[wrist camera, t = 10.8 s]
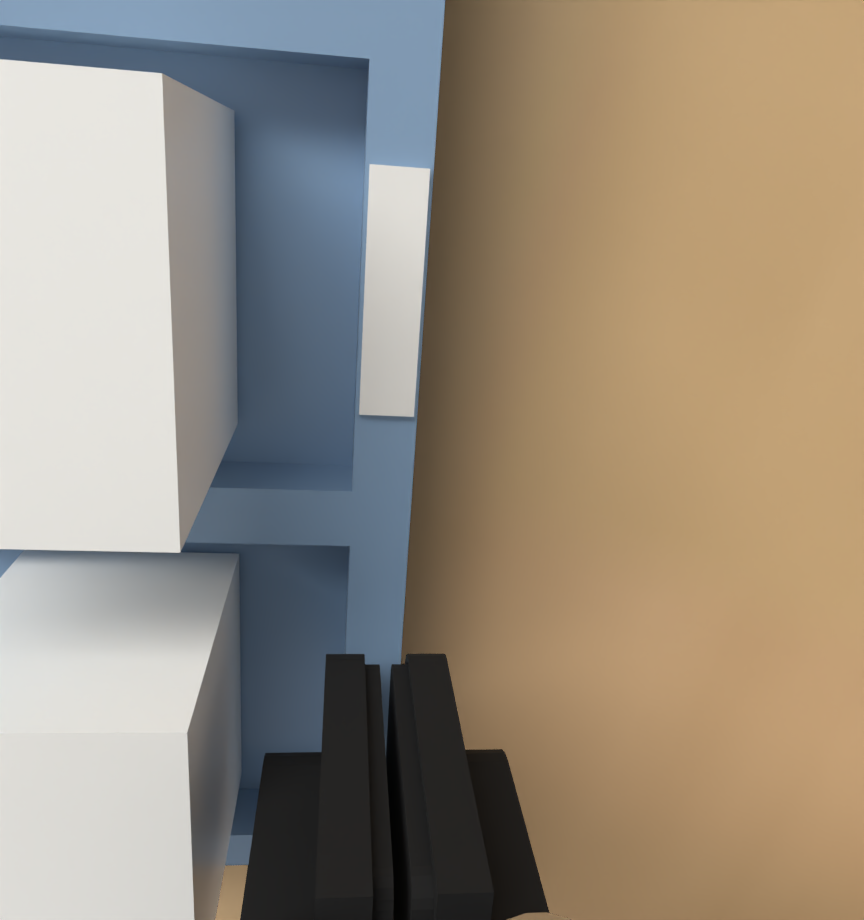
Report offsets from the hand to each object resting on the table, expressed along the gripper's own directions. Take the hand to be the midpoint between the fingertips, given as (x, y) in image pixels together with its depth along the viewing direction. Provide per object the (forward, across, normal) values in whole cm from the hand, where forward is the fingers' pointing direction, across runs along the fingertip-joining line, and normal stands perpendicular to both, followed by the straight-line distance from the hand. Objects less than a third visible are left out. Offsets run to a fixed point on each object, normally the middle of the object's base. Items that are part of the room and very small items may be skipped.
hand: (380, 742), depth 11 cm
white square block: (+2, +4, 0) cm, 4 cm away
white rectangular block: (+2, +4, -6) cm, 7 cm away
